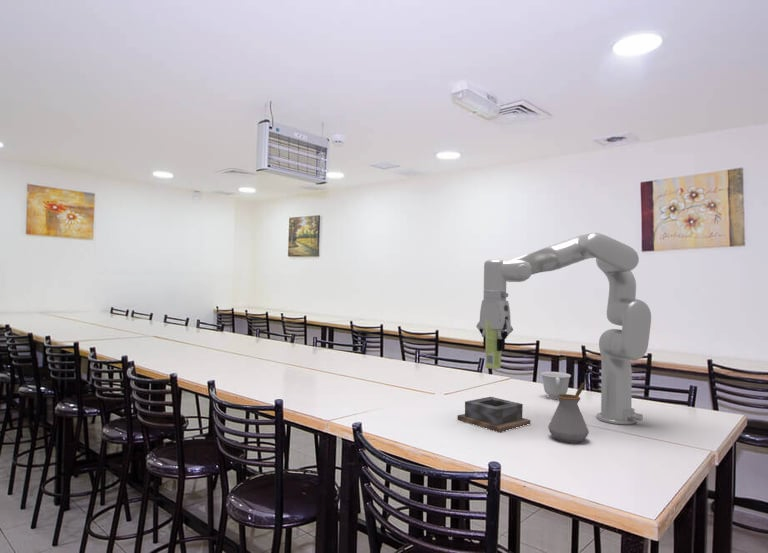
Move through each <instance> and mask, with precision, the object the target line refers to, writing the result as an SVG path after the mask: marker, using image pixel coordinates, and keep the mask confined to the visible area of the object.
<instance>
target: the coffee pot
mask: <svg viewBox="0 0 768 553" xmlns="http://www.w3.org/2000/svg"><path fill="white" fill-rule="evenodd" d="M585 385H586V386H587V387H585ZM588 387H589V385H588V383H585V382H581V384H580V385H579V388H578V389H577V390H576V393H575V394H569V393H566V394H559V395H557V397H558V398H559V402H558V405H557V407H556V409H555V411H554V413H553V416H552V418H551V420H550V422H549V423H548V427H547V428H548V431H549V433H550V434H551V435H552V436H553V437H554V439H555V438H556V439H555V440H557V439H558V440H557V441H559V440H560V442H563V441H565V442H564V443H569V442H571V443H572V444H576V443H577V442H578V443H581V442H582V441H583V440H585V439H586V438H587V437H588V435H589V433H590V431H589V429H588V426H587V423H586V422H585V421H586V420H584V417H583V415H582V411H581V409H580V407H579V405H578V403H579V402H580V400H581V397H580V395H581V393H582V391H583V389H587V388H588Z"/></svg>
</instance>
